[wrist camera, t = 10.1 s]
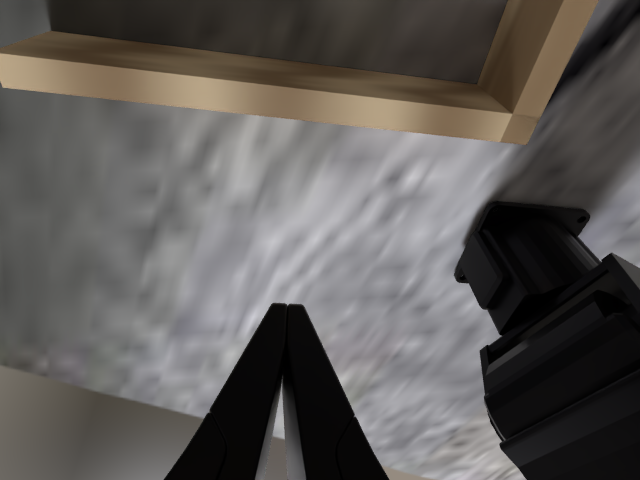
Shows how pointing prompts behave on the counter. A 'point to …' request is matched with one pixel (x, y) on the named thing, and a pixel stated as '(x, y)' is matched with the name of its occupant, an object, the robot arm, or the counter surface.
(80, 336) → the counter surface
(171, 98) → the wooden frame
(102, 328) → the counter surface
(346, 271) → the counter surface
